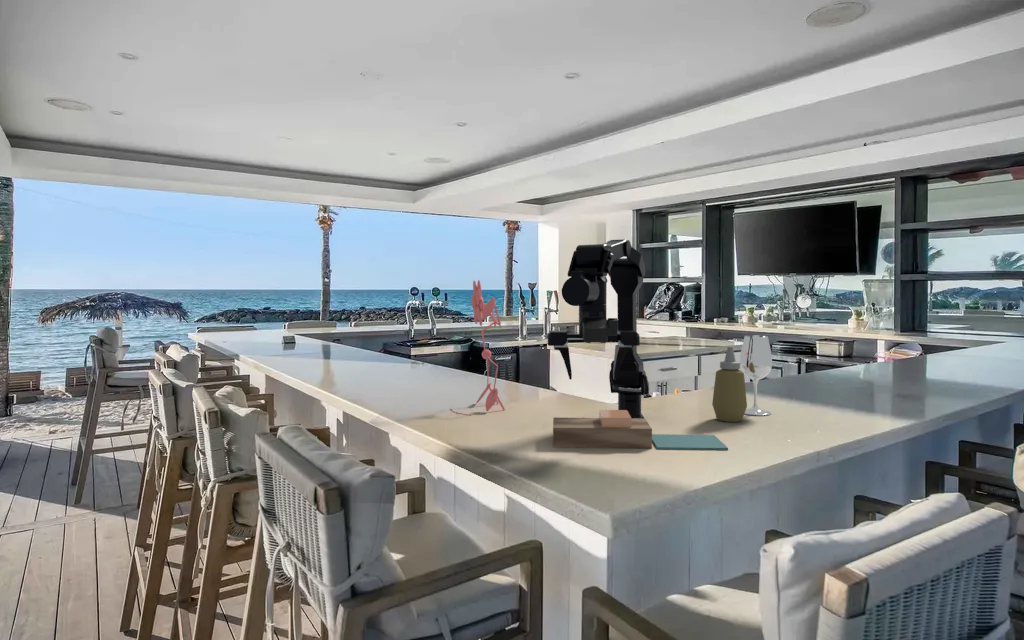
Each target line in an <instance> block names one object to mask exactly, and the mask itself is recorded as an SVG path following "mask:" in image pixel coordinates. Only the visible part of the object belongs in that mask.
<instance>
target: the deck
mask: <svg viewBox="0 0 1024 640" xmlns="http://www.w3.org/2000/svg"><path fill="white" fill-rule="evenodd" d="M552 422H553V423H552V425H553V426H552V447H553V448H590V449H591V448H594V449H595V448H596V449H597V448H598V449H599V448H601V449H602V448H603V449H606V448H607V449H652V448H653V441H652V434H653V428H652V427H651V425H650V424H649V422H648V421H647V419H646V418H645V417H644V418H631V428H627V427H602V426H601V423H600V420H599V417H553V421H552Z"/></svg>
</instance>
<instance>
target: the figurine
mask: <svg viewBox="0 0 1024 640" xmlns="http://www.w3.org/2000/svg"><path fill="white" fill-rule="evenodd" d="M472 289H473V294H472V295H471V300H470V303H471V306H472V309H473V319H474V323H475V324H476V325H478V323H479V325H480V326H481V327H482V325H483V321H485V320H486V319H487V318H488V317H489V316H490V318H491V319H492V321H493V322H492V323H490V324H489V325H488V326H486V327H484V328H483V329H482V330H481V331H480V333H481V339H482V345H483V350H482V352H481V356H482V358H483V360H486V365H487V366H486V368H487V369H486V372H487V373H486V375H487V376H486V377H487V380H486V382H487V384H486V387H485V389H484V390H483V392H482V393H481V394H480V396H479V397H478V399H477V401H476V402H475V403H476V404H479V402H480V401H481V400H482V399H483V398H484V396H485V395H486V394H487V392H488V390H489V393H488V395H487V397H486V399H485V411H486V412H489V411H490V409H492V407H494V406H495V404H497V405H500V407H501V408H502V410H503V411H505V410H506V408H505V407H504V405H503V403H502V401H501V398H500V397H499V390H498V388H497V387H496V383H497V376H498V370H499V365H498V364H497V363H495V362H494V361H493V360H492V359H491V358H492V351H491V350H489V349H486V344H485V342H486V341H485V335H484V332H485V331H486V330H489V328H491V327H492V326H494V327H497V326H499V327H501V326H502V325H501V320H500V315H499V312H498V308H497V305H496V299H495V297H492V298H491V299H489V300H488V302H487V303H485V301H484V297H483V296H482V295H483V294H482V285H481V281H480V279H478V280H477V282H476V280H473V281H472ZM494 311H495V312H494ZM495 315H496V318H495ZM489 361H490V362H491V363H492V364H494V365H495V366H496V369H495V377H494V382H493V383H494V384H493V388H491V385H492V383H491V382H489V363H490V362H489ZM452 412H453V413H455V414H458V415H464V416H470V414H466V413H462V412H457V411H453V410H452Z"/></svg>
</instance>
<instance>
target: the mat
mask: <svg viewBox="0 0 1024 640" xmlns="http://www.w3.org/2000/svg"><path fill="white" fill-rule="evenodd" d="M652 444H653V445H654V446H655V448H656V449H657V450H689V451H691V450H695V451H696V450H699V451H700V450H701V451H702V450H703V451H705V450H707V451H709V450H710V451H729V447H728V446H727V445H726V444H724V443H723V442H722V441H721V439H720V438H718V437H717V436H716V435H715V434H676V433H675V434H670V433H669V434H668V433H667V434H664V433H662V434H661V433H659V434H656V433H655V434H654V433H652Z"/></svg>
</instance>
